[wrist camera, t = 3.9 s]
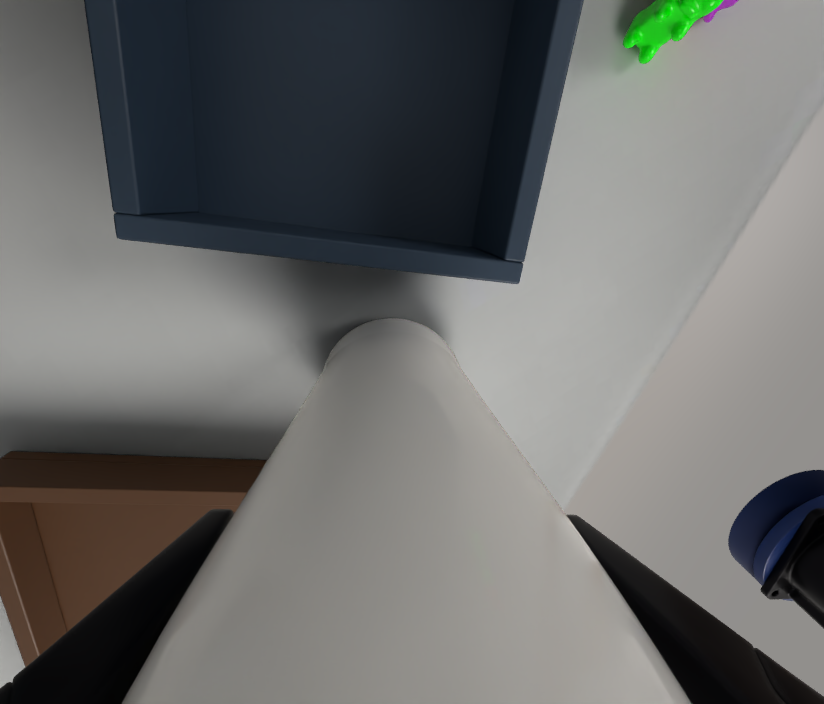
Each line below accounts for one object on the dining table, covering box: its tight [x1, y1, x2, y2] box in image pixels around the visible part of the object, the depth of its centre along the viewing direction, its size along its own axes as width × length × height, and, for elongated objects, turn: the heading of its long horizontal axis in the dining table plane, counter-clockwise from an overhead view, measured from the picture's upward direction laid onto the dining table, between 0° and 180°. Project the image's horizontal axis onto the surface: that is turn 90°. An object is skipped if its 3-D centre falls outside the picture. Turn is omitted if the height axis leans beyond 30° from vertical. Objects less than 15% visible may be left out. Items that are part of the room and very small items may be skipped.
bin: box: [84, 0, 584, 284], centre depth 10 cm, size 10×10×4 cm
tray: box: [0, 451, 267, 667], centre depth 17 cm, size 14×13×2 cm
